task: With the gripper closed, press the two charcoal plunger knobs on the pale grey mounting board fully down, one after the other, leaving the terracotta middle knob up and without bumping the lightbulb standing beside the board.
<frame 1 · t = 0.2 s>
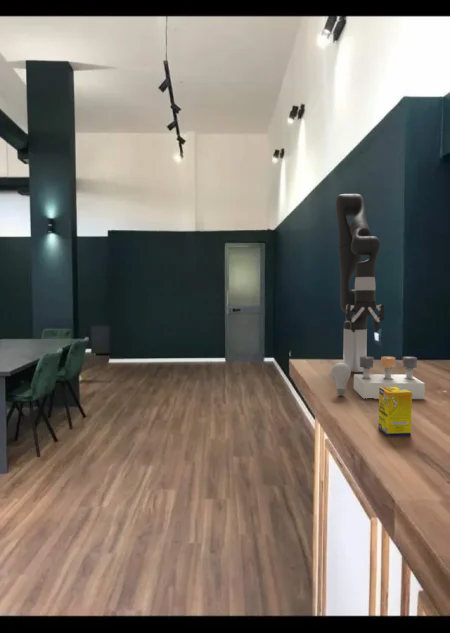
hand: (364, 332, 186), 18 cm above the counter, tool pointing down, fingers open, 8 cm apart
charcoal knob 1: (366, 370, 161), point 8 cm above the counter, slide at 0.0 cm
charcoal knob 2: (409, 370, 161), point 8 cm above the counter, slide at 0.0 cm
lightbulb: (340, 396, 158), on the counter
mounting board: (387, 393, 161), on the counter
supplement box: (394, 433, 121), on the counter
middle terracotta knob: (387, 370, 161), point 8 cm above the counter, slide at 0.0 cm
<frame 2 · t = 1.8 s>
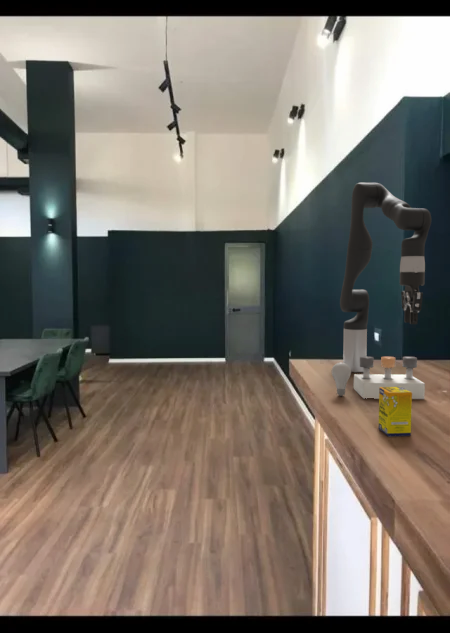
hand: (410, 323, 159), 23 cm above the counter, tool pointing down, fingers open, 5 cm apart
nothing on the counter moved.
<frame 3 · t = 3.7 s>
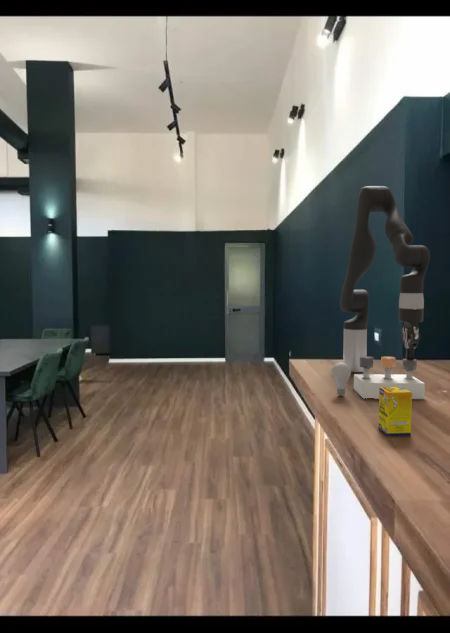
hand: (409, 359, 160), 11 cm above the counter, tool pointing down, fingers closed
charcoal knob 2: (409, 372, 161), point 7 cm above the counter, slide at 0.7 cm, touching gripper
everything else where it was.
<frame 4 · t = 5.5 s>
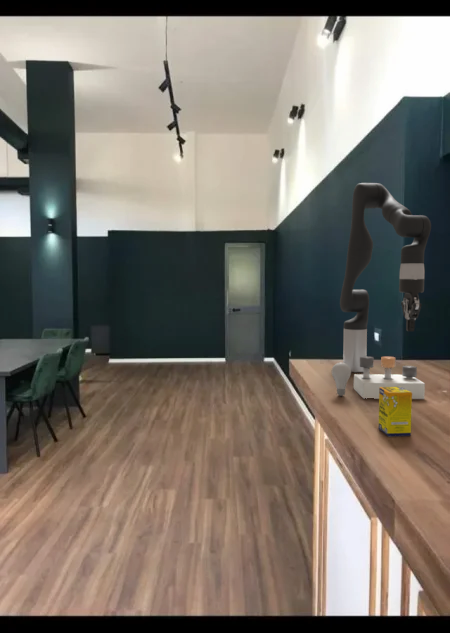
hand: (410, 331, 160), 21 cm above the counter, tool pointing down, fingers closed
charcoal knob 2: (409, 379, 161), point 5 cm above the counter, slide at 3.0 cm
everything else where it was.
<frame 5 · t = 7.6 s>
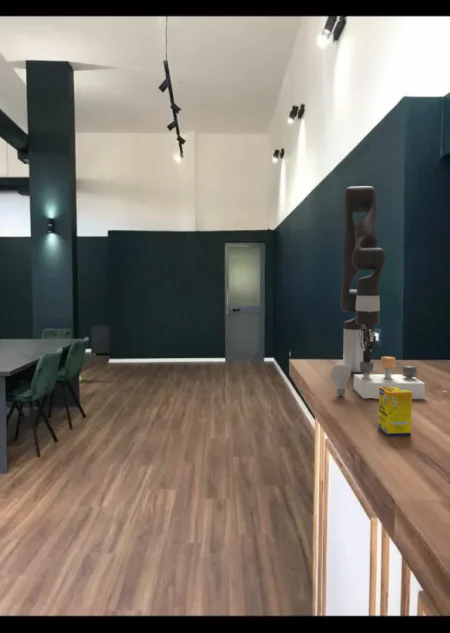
hand: (366, 361, 161), 11 cm above the counter, tool pointing down, fingers closed
charcoal knob 1: (366, 374, 161), point 6 cm above the counter, slide at 1.5 cm, touching gripper
everything else where it was.
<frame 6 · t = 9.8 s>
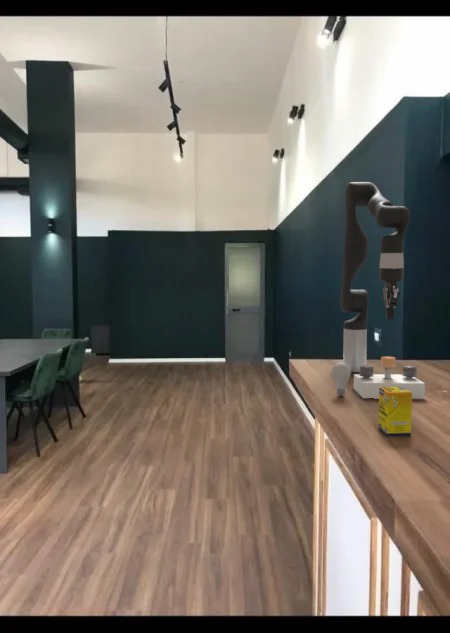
hand: (389, 318, 164), 24 cm above the counter, tool pointing down, fingers closed
charcoal knob 1: (366, 379, 161), point 5 cm above the counter, slide at 3.0 cm
everything else where it was.
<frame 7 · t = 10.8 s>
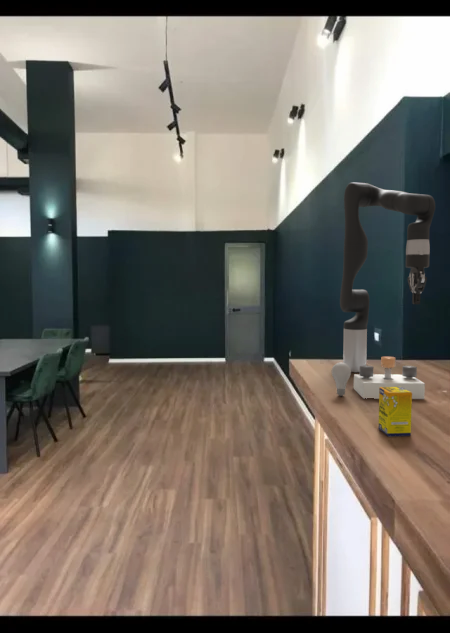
hand: (416, 304, 169), 29 cm above the counter, tool pointing down, fingers closed
nothing on the counter moved.
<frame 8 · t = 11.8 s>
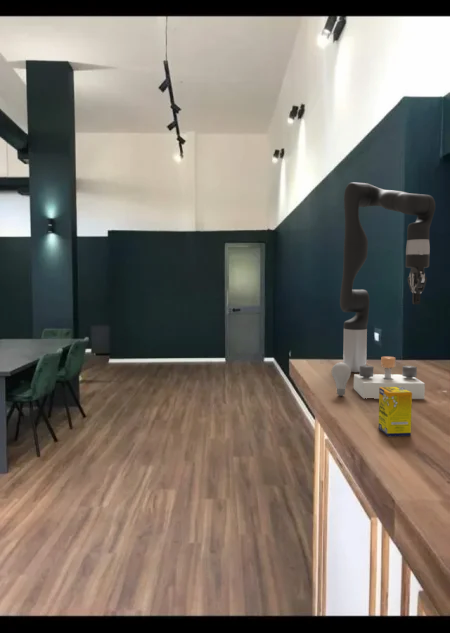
hand: (416, 304, 169), 29 cm above the counter, tool pointing down, fingers closed
nothing on the counter moved.
at the end: charcoal knob 2 slide at 3.0 cm; charcoal knob 1 slide at 3.0 cm; lightbulb moved 0.2 cm from its start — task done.
